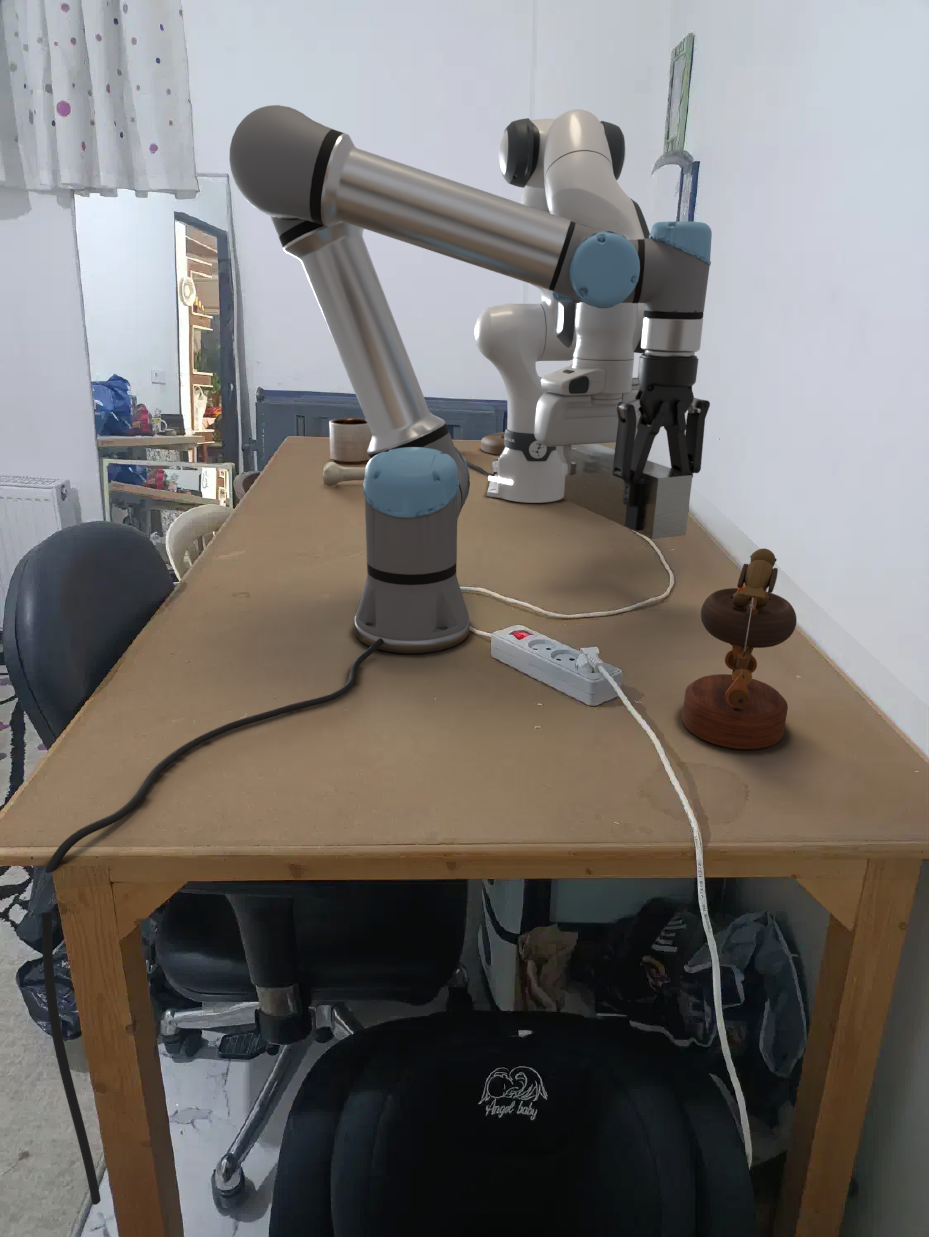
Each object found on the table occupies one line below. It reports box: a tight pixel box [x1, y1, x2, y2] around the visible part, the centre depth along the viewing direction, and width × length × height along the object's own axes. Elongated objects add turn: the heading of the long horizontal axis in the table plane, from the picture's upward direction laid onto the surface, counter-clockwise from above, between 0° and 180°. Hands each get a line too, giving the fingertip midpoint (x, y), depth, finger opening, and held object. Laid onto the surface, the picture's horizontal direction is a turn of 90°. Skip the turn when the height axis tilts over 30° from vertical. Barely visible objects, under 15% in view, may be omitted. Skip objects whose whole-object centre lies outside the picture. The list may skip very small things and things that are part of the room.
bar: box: [563, 443, 694, 540], centre depth 123 cm, size 24×6×8 cm, turn 24°
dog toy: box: [322, 461, 366, 486], centre depth 189 cm, size 20×6×5 cm, turn 99°
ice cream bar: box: [480, 431, 505, 456], centre depth 223 cm, size 21×28×4 cm
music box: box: [681, 548, 797, 750], centre depth 88 cm, size 15×11×20 cm
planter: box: [328, 417, 372, 464], centre depth 212 cm, size 11×11×10 cm
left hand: (651, 525), depth 118 cm, fingers closed on bar, 6 cm apart
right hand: (595, 472), depth 129 cm, fingers open, 8 cm apart
